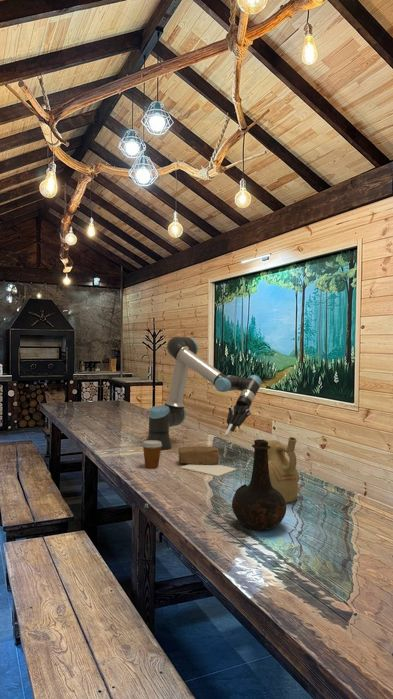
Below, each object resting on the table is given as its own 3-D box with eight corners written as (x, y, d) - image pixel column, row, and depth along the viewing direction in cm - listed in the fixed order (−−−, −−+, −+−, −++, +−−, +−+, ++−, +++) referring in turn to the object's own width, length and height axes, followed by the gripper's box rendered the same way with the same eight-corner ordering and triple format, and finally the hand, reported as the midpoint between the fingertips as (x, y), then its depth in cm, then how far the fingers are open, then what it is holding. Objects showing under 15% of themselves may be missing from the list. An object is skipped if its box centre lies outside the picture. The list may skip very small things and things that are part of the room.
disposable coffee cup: (160, 469, 213) (161, 444, 212) (140, 469, 213) (141, 443, 213) (162, 464, 222) (163, 440, 222) (143, 464, 222) (143, 439, 222)
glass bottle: (250, 511, 161) (252, 432, 161) (295, 524, 150) (297, 440, 149) (220, 525, 147) (222, 439, 147) (268, 541, 136) (270, 448, 136)
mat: (180, 468, 216) (180, 467, 216) (200, 462, 229) (200, 460, 229) (218, 477, 203) (218, 475, 203) (237, 469, 215) (237, 468, 215)
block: (219, 449, 220) (178, 450, 220) (219, 465, 220) (178, 465, 220) (218, 445, 231) (178, 445, 231) (218, 459, 231) (179, 459, 231)
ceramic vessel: (284, 488, 188) (285, 428, 188) (312, 504, 170) (314, 437, 170) (247, 492, 182) (249, 430, 182) (273, 509, 164) (274, 440, 163)
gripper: (232, 394, 241) (213, 429, 228) (253, 396, 233) (235, 432, 220) (237, 403, 246) (219, 438, 233) (258, 405, 238) (240, 442, 225)
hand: (227, 435), depth 226 cm, fingers closed
